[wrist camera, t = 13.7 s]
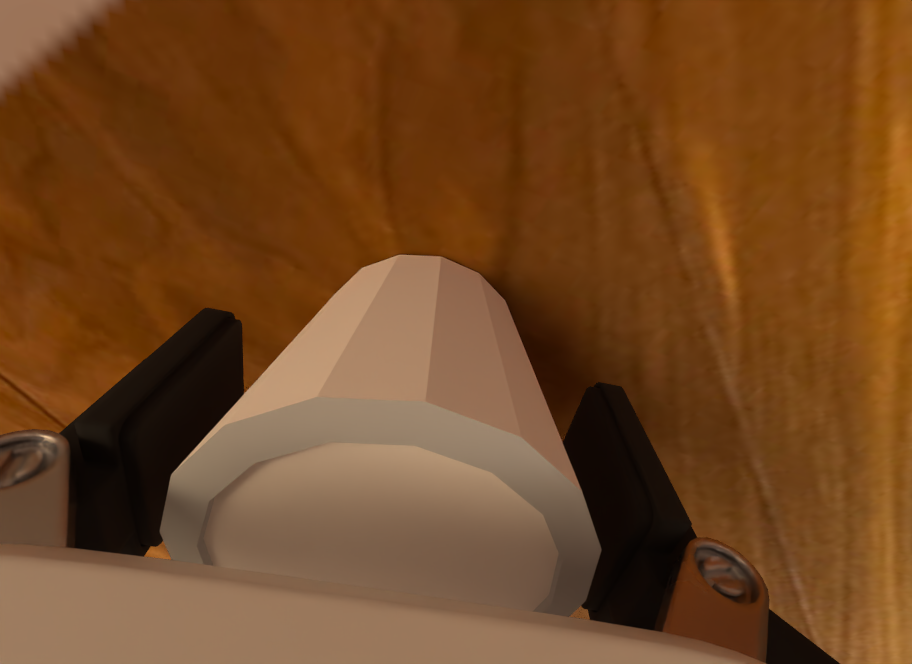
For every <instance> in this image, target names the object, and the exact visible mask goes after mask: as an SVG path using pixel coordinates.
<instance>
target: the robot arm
mask: <svg viewBox="0 0 912 664" xmlns="http://www.w3.org/2000/svg"><path fill="white" fill-rule="evenodd" d="M243 395H244V383H243V343H242V323H241V321H240V320H236V319H235V316H234V314H233V313H232V312H227V311H222V310H216V309H211V308H205V309H203V310H202V311H200V312H199V313H198V314H197V315H196V316H195V317H194V318H192V319H191V320H190V321H189V322H188V323H187V324H185V325H184V326H183V327H182V328H181V329H180V330H179V331H177V332H176V333H175V334H174V335H173V336H172V337H171V338H169V339H168V340H167V341H166V342H165V343H164V344H162V345H161V346H160V347H159V348H158V349H157V350H156V351H154V352H153V353H152V354H151V355H150V356H149V357H148V358H146V359H145V360H143V361H142V362H141V363H140V364H139V365H137V366H136V367H135V368H134V369H133V370H132V371H131V372H129V373H128V374H127V375H126V376H125V377H124V378H122V379H121V380H120V381H119V382H118V383H117V384H116V385H114V386H113V387H112V388H111V389H110V390H109V391H107V392H106V393H105V394H104V395H103V396H102V397H101V398H99V399H98V400H97V401H96V402H95V403H94V404H93V405H91V406H90V407H89V408H88V409H87V410H86V411H84V412H83V413H82V414H81V415H80V416H79V417H78V418H76V419H75V420H74V421H73V422H72V423H71V424H69V425H68V426H67V427H66V428H65V429H64V430H63V431H61V432H60V433H56V432H53V431H50V430H37V429H32V430H22V431H15V432H11V433H7V434H3V435H0V664H840V663H838V662H837V661H836V660H834V659H833V658H832V657H831V656H829V655H828V654H827V653H825V652H824V651H823V650H822V649H820V648H819V647H818V646H816V645H815V644H814V643H812V642H811V641H810V640H809V639H807V638H806V637H805V636H803V635H802V634H801V633H800V632H798V631H797V630H796V629H794V628H793V627H792V626H790V625H789V624H788V623H787V622H785V621H784V620H783V619H781V618H780V617H779V616H777V615H776V614H775V613H774V612H772V611H771V610H770V609H769V595H768V589H767V587H766V585H765V583H764V580H763V578H762V577H761V575H760V574H759V573H758V571H757V570H756V569H755V567H754V566H753V565H752V564H751V563H750V562H749V561H748V560H747V559H746V558H745V557H744V556H743V555H741V554H740V553H739V552H737V551H736V550H734V549H733V548H732V547H730V546H728V545H726V544H724V543H722V542H720V541H718V540H714V539H711V538H697V536H696V534H695V532H694V530H693V529H692V527H691V525H692V523H691V521H690V519H689V517H688V515H687V513H686V511H685V509H684V507H683V505H682V504H681V502H680V500H679V498H678V496H677V494H676V492H675V490H674V488H673V486H672V484H671V482H670V480H669V478H668V476H667V474H666V472H665V470H664V468H663V466H662V464H661V462H660V460H659V458H658V456H657V454H656V452H655V450H654V448H653V447H652V445H651V443H650V441H649V439H648V437H647V435H646V433H645V431H644V429H643V427H642V425H641V423H640V421H639V419H638V417H637V415H636V413H635V411H634V409H633V407H632V405H631V403H630V401H629V399H628V397H627V395H626V393H625V391H624V390H623V388H622V387H620V386H616V385H611V384H606V383H601V382H598V383H596V384H595V385H594V387H591V386H590V387H588V388H587V389H586V391H585V393H584V395H583V398H582V400H581V402H580V405H579V407H578V409H577V411H576V414H575V416H574V418H573V421H572V423H571V425H570V427H569V430H568V432H567V434H566V437H565V439H564V441H563V445H564V448H565V450H566V453H567V455H568V458H569V460H570V463H571V465H572V468H573V470H574V473H575V475H576V478H577V480H578V483H579V485H580V488H581V490H582V493H583V496H584V499H585V502H586V505H587V508H588V511H589V514H590V517H591V520H592V523H593V526H594V529H595V532H596V535H597V538H598V540H599V543H600V546H601V549H602V550H601V553H600V557H599V560H598V563H597V566H596V570H595V573H594V576H593V579H592V583H591V586H590V589H589V592H588V596H587V599H586V601H585V602H584V603H583V604H582V605H581V606H582V607H583V608H584V609H588V612H589V617H590V620H587V619H580V618H573V617H567V616H560V615H553V614H547V613H540V612H533V611H526V610H520V609H513V608H506V607H500V606H493V605H486V604H479V603H473V602H466V601H459V600H452V599H445V598H438V597H431V596H424V595H418V594H411V593H404V592H397V591H390V590H383V589H376V588H369V587H362V586H355V585H348V584H341V583H334V582H327V581H320V580H313V579H306V578H298V577H291V576H284V575H276V574H269V573H262V572H255V571H247V570H240V569H233V568H226V567H218V566H211V565H204V564H197V563H189V562H182V561H175V560H167V559H159V558H151V557H144V555H145V554H146V552H147V551H148V549H149V548H150V546H154V547H156V546H158V545H159V544H161V543H162V541H163V539H162V536H161V534H160V532H159V531H160V527H161V522H162V517H163V512H164V507H165V502H166V497H167V492H168V487H169V482H170V477H171V474H172V473H173V472H174V471H175V470H176V469H177V468H178V466H179V465H180V464H181V463H182V462H183V461H184V460H185V459H186V458H187V457H188V455H189V454H190V453H191V452H192V451H193V450H194V449H195V448H196V447H197V446H198V444H199V443H200V442H201V441H202V440H203V439H204V438H205V437H206V436H207V434H208V433H209V432H210V431H211V430H212V429H213V428H214V427H215V426H216V425H217V423H218V422H219V421H220V420H221V419H222V418H223V417H224V416H225V415H226V414H227V412H228V411H229V410H230V409H231V408H232V407H233V406H234V405H235V404H236V402H237V401H238V400H239V399H240V398H241V397H242V396H243Z"/></svg>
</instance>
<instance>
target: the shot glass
mask: <svg viewBox="0 0 912 664" xmlns="http://www.w3.org/2000/svg"><path fill="white" fill-rule="evenodd" d="M159 532H160V534H161V536H162V539H163V541H164V543H165V545H166V548H167V550H168V552H169V555H170V557H171V559H172V560H175V561H182V562H189V563H197V564H204V565H211V566H218V567H226V568H233V569H240V570H247V571H255V572H262V573H269V574H276V575H284V576H291V577H298V578H306V579H313V580H320V581H327V582H334V583H341V584H348V585H355V586H362V587H369V588H376V589H383V590H390V591H397V592H404V593H411V594H418V595H424V596H431V597H438V598H445V599H452V600H459V601H466V602H473V603H479V604H486V605H493V606H500V607H506V608H513V609H520V610H526V611H533V612H540V613H547V614H553V615H560V616H567V617H569V616H570V615H571V614H572V613H573V612H575V611H576V610H577V609H578V608H579V607H580V606H581V605H582V604H583V603H584V602H585V601H586V599H587V596H588V592H589V589H590V586H591V583H592V579H593V576H594V573H595V570H596V566H597V563H598V560H599V557H600V553H601V550H602V549H601V546H600V543H599V540H598V538H597V535H596V532H595V529H594V526H593V523H592V520H591V517H590V514H589V511H588V508H587V505H586V502H585V499H584V496H583V493H582V490H581V488H580V485H579V483H578V480H577V478H576V475H575V473H574V470H573V468H572V465H571V463H570V460H569V458H568V455H567V453H566V450H565V448H564V445H563V443H562V440H561V438H560V435H559V433H558V430H557V428H556V425H555V423H554V420H553V418H552V415H551V413H550V410H549V408H548V406H547V403H546V401H545V398H544V396H543V393H542V391H541V388H540V386H539V383H538V381H537V378H536V376H535V373H534V371H533V368H532V366H531V363H530V361H529V358H528V356H527V353H526V351H525V348H524V346H523V343H522V341H521V338H520V336H519V333H518V331H517V328H516V326H515V323H514V321H513V319H512V316H511V314H510V311H509V309H508V306H507V304H506V301H505V300H504V299H503V298H502V297H501V296H500V295H499V294H498V292H497V291H496V290H495V289H494V288H493V287H492V286H491V285H490V284H489V283H488V282H487V281H486V280H485V279H484V278H483V277H482V276H481V275H480V274H479V273H478V272H475V271H473V270H471V269H469V268H466V267H464V266H462V265H460V264H457V263H455V262H453V261H450V260H448V259H446V258H444V257H441V256H419V255H397V256H394V257H391V258H389V259H386V260H383V261H380V262H377V263H375V264H372V265H369V266H366V267H363V268H361V269H360V270H359V271H358V272H357V273H356V274H355V275H354V276H353V277H352V278H351V279H350V280H349V281H348V282H347V283H346V284H345V285H344V286H343V287H342V288H341V289H339V290H338V291H337V292H336V293H335V294H334V295H333V297H332V298H331V299H330V300H329V301H328V302H327V303H326V304H325V305H324V307H323V308H322V309H321V310H320V311H319V312H318V313H317V314H316V315H315V316H314V318H313V319H312V320H311V321H310V322H309V323H308V324H307V325H306V326H305V327H304V329H303V330H302V331H301V332H300V333H299V334H298V335H297V336H296V337H295V339H294V340H293V341H292V342H291V343H290V344H289V345H288V346H287V347H286V348H285V350H284V351H283V352H282V353H281V354H280V355H279V356H278V357H277V358H276V359H275V361H274V362H273V363H272V364H271V365H270V366H269V367H268V368H267V369H266V371H265V372H264V373H263V374H262V375H261V376H260V377H259V378H258V379H257V380H256V382H255V383H254V384H253V385H252V386H251V387H250V388H249V389H248V390H247V391H246V393H245V394H244V395H243V396H242V397H241V398H240V399H239V400H238V401H237V402H236V404H235V405H234V406H233V407H232V408H231V409H230V410H229V411H228V412H227V414H226V415H225V416H224V417H223V418H222V419H221V420H220V421H219V422H218V423H217V425H216V426H215V427H214V428H213V429H212V430H211V431H210V432H209V433H208V434H207V436H206V437H205V438H204V439H203V440H202V441H201V442H200V443H199V444H198V446H197V447H196V448H195V449H194V450H193V451H192V452H191V453H190V454H189V455H188V457H187V458H186V459H185V460H184V461H183V462H182V463H181V464H180V465H179V466H178V468H177V469H176V470H175V471H174V472H173V473H172V474H171V477H170V482H169V487H168V492H167V497H166V502H165V507H164V512H163V517H162V522H161V527H160V531H159Z"/></svg>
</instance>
